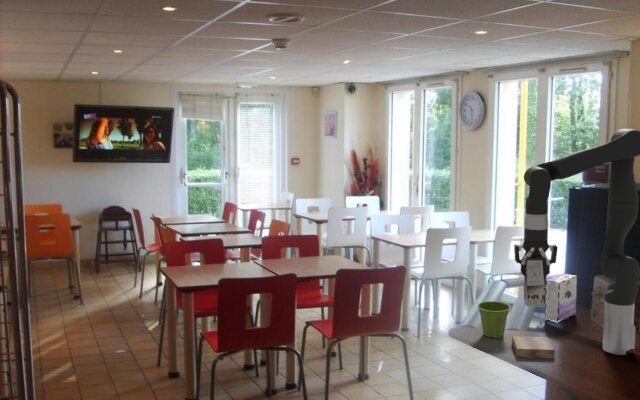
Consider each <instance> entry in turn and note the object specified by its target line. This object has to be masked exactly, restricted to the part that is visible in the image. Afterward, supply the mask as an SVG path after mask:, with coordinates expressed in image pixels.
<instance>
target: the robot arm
mask: <svg viewBox="0 0 640 400" xmlns="http://www.w3.org/2000/svg"><path fill="white" fill-rule="evenodd" d="M638 156H640V130H639V129H634V128H620V129H617V130H616V131H615V132H614V133H613V134H612V135H611V138H610V141H609V142H607V143H604V144H601V145H598V146H595V147H591V148H586V149H582V150H579V151H575V152H572V153H569V154H567V155H566V154H565V155H564V156H561V157H558V158H557V159H554V160H550V161H546V162H543V163H542V162H541V163H539V164H535V165H533V166H530V167H529V168H527V170H525V172H524V174H523V180H524V182H525V183H526V185H527V186H529V189H528V196H527V197H526V199H525V211H524V212H525V213H524V214H525V215H524V221H523V222H524V224H523V225H524V227H523V233H524V234H523V243H522V244H514V245H513V251H514V261H515V262H516V263H517V264H520V273H521V275H522V276H523V277H524V276H526V265H525V263H526V258H529V257H530V256H531V257H535V256H536V257H541V256H542V257H543V258H546V260H547V266H546V277H548V275H549V274H551V272H550V269H551V265H552V264H556V263H557V255H558V246H557V245H556V244H549V243H548V237H549V236H548V235H549V234H548V233H549V216H548V211H549V210H548V204H549V203H548V200H549V196H550V192H551V186H552V182H553V181H556V180H565V179H568V178H571V177H573V176H576V175H578V174H582V173H584V172H586V171H589V170H592V169H594V168H597V167H599V166H604V165H607V164H609V163H610V176H609V189H608V201H607V213H606V214H607V215H606V216H607V217H606V231H605V240H604V243H603V244H604V245H603V251H602V256H601V262H600V270H601V273H602V276H603V277H605V278H606V279H608V280H611V281H614V283H615V284H614V289H611V290H607V291H605V293H604V305H603V306H604V308H603V311H604V313H603V332H602V333H603V334H602V335H603V337H602V349H603V351H604V352H607V353H609V354H612V355H618V356H626V351H628V350H630V349H634V350H635V348H636V347H635V346H636V345H635V344H636V326H635V324H634V321H635V300H636V297H637V295H638V294H639V293H638V291H639V283H640V265H639V264H640V263H639V262H638V260H637V259H635V258H634V257H631V256H628V255H625V254H624V244H625V240H626V238H627V237H626V236H627V235H628V233H629V232H630V230H631V229H632V227H633V226H634V224H635V222H636V221H637V219H638V214H639V198H640V197H639V191H638V186H637V183H636V179H635V174H634V166H635V165H634V163H635V158H636V157H638ZM522 249H523V250H524V251H525V252H524V254H523V256H522V257H521V258H520V252H521V251H522ZM548 249H549V251H550V252H551V255H550V259H549V258H548V256H547V255H546V252H547V251H548Z"/></svg>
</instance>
